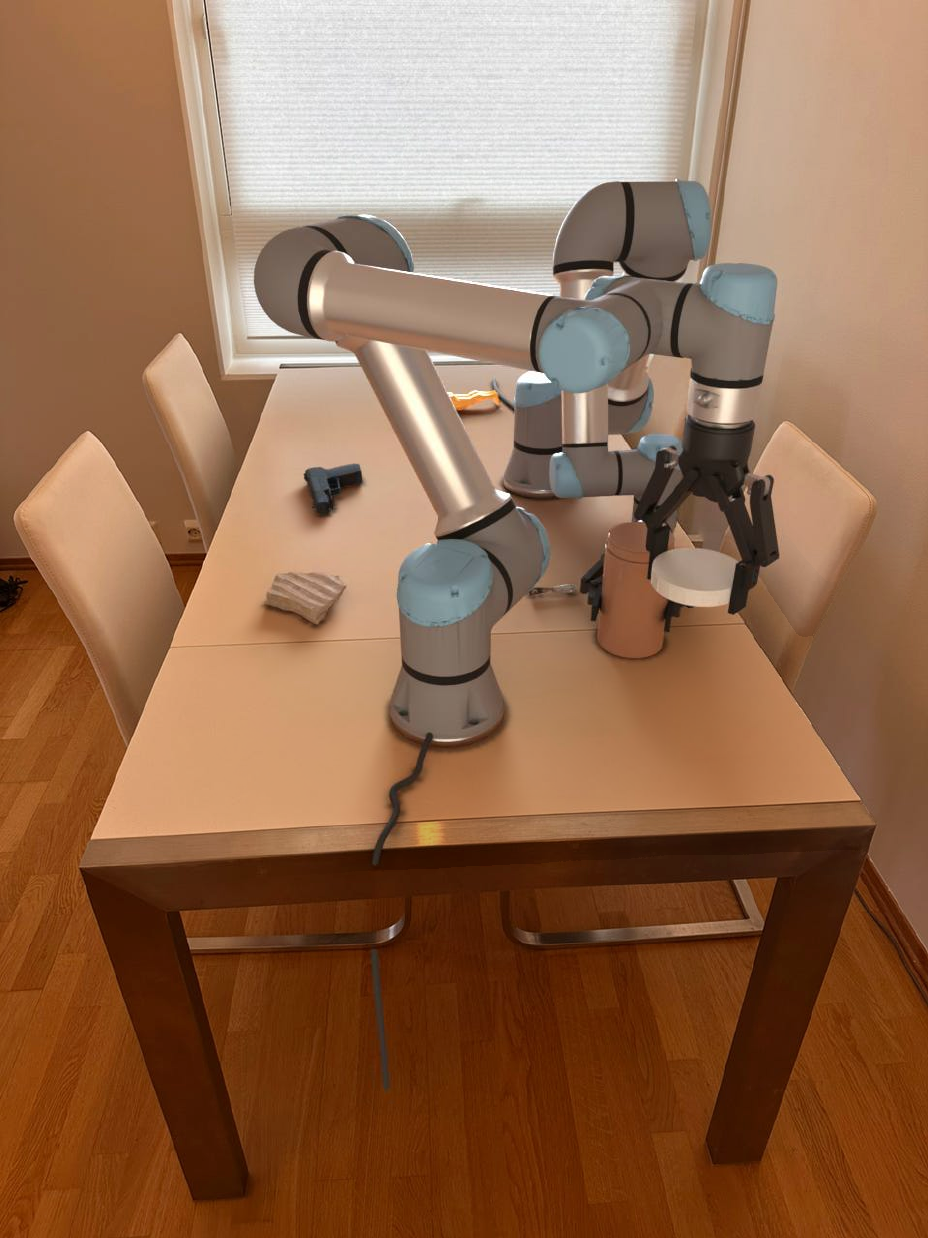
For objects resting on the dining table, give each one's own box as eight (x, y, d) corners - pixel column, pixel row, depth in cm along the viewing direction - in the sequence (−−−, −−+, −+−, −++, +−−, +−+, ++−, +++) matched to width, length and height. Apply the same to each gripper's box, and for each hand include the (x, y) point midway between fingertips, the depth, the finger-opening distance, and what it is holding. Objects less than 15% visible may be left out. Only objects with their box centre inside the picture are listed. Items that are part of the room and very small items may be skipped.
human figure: (395, 413, 223) (394, 398, 221) (438, 390, 237) (438, 375, 235) (462, 429, 215) (462, 413, 213) (502, 404, 229) (503, 388, 227)
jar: (584, 642, 136) (593, 537, 126) (619, 615, 142) (629, 514, 132) (641, 666, 130) (654, 558, 121) (674, 637, 136) (689, 533, 127)
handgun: (374, 509, 176) (313, 517, 173) (359, 474, 190) (302, 481, 188) (373, 494, 174) (311, 502, 172) (358, 460, 188) (301, 466, 186)
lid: (761, 599, 105) (764, 583, 104) (675, 613, 102) (677, 597, 101) (715, 557, 114) (717, 542, 113) (635, 569, 111) (637, 554, 110)
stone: (356, 590, 149) (354, 577, 147) (319, 626, 139) (317, 612, 138) (289, 576, 153) (287, 563, 152) (249, 610, 144) (247, 596, 142)
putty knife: (576, 592, 148) (577, 584, 147) (529, 598, 146) (530, 589, 145) (574, 589, 149) (575, 581, 148) (528, 595, 147) (528, 586, 146)
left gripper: (613, 401, 102) (600, 570, 114) (802, 454, 88) (764, 641, 99) (652, 386, 106) (636, 550, 118) (838, 435, 92) (798, 616, 104)
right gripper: (713, 578, 147) (706, 651, 128) (578, 561, 152) (552, 629, 134) (720, 537, 143) (713, 607, 124) (580, 521, 148) (554, 585, 130)
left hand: (694, 592), depth 109 cm, fingers closed on lid, 11 cm apart
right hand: (630, 618), depth 129 cm, fingers closed on jar, 10 cm apart
